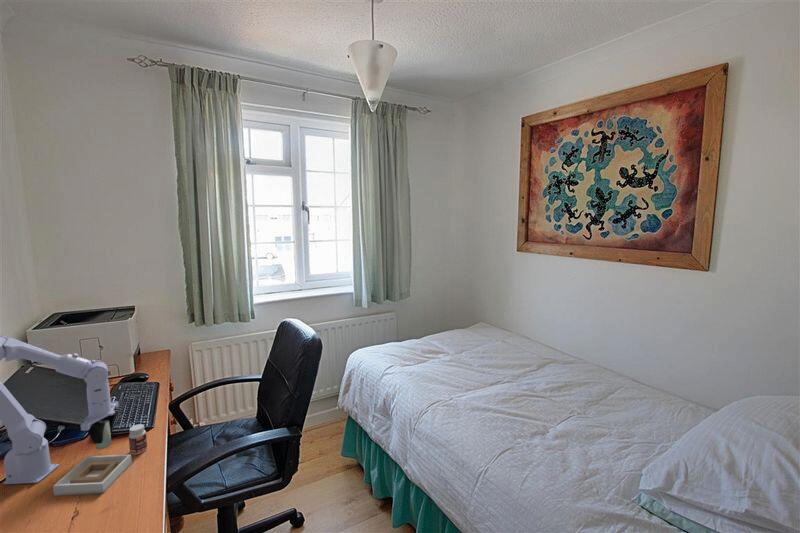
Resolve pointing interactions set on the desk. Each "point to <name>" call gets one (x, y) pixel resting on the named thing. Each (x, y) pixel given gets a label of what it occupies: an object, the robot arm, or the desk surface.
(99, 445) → the peg
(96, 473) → the tray
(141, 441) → the pill bottle
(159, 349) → the desk surface
